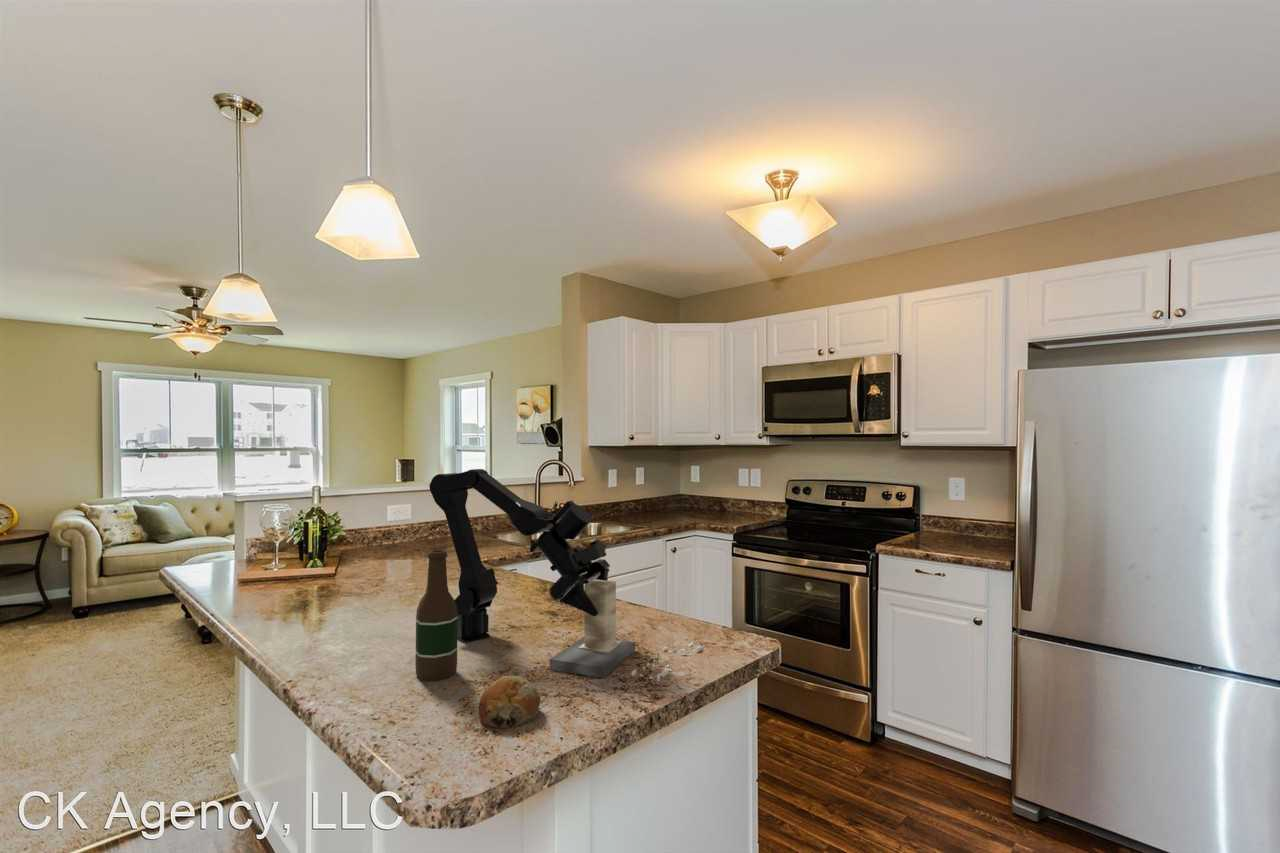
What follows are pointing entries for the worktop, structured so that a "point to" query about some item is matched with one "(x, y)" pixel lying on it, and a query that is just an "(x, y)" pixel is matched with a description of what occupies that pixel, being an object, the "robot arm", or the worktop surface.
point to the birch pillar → (601, 614)
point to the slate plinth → (592, 658)
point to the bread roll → (509, 702)
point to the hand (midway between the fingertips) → (605, 609)
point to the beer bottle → (436, 624)
